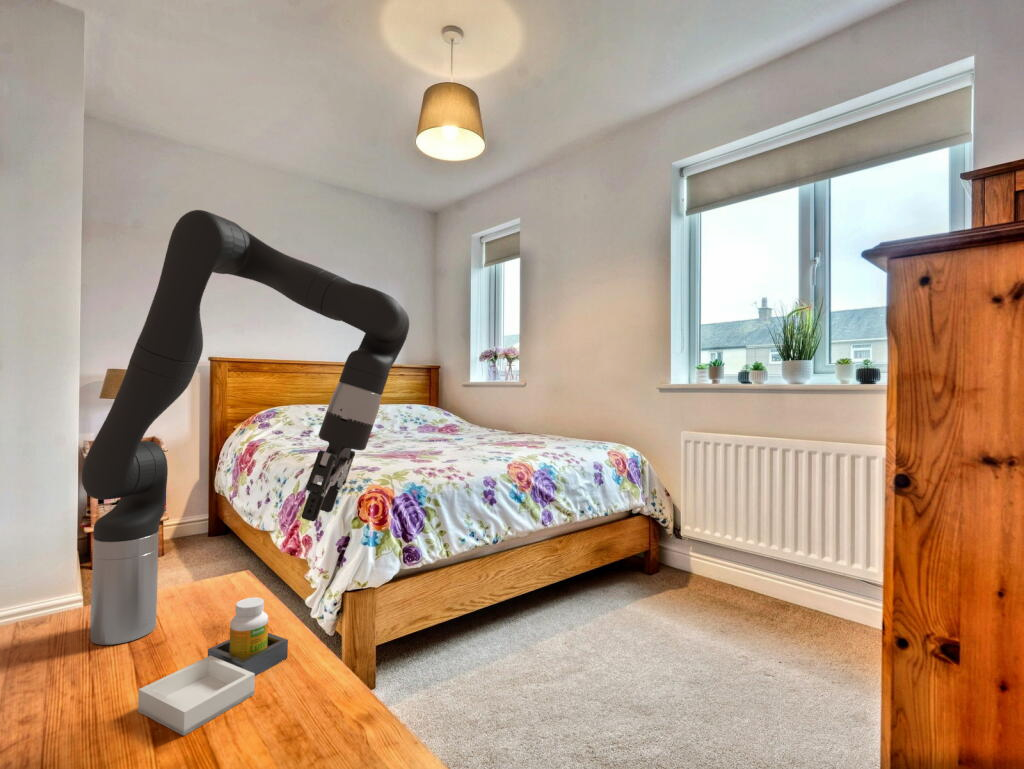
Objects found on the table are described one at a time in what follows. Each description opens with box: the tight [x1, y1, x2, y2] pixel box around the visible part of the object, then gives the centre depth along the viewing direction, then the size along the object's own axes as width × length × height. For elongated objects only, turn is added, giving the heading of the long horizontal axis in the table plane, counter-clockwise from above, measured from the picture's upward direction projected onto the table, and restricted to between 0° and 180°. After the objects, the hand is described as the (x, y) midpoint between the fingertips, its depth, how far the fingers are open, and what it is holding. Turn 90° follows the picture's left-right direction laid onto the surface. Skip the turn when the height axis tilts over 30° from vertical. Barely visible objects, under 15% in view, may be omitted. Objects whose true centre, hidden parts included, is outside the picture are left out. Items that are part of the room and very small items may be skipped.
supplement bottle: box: [229, 596, 269, 659], centre depth 82 cm, size 5×5×10 cm
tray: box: [137, 655, 256, 737], centre depth 72 cm, size 10×10×3 cm
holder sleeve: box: [207, 632, 289, 677], centre depth 82 cm, size 8×8×3 cm
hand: (316, 515), depth 81 cm, fingers open, 8 cm apart
